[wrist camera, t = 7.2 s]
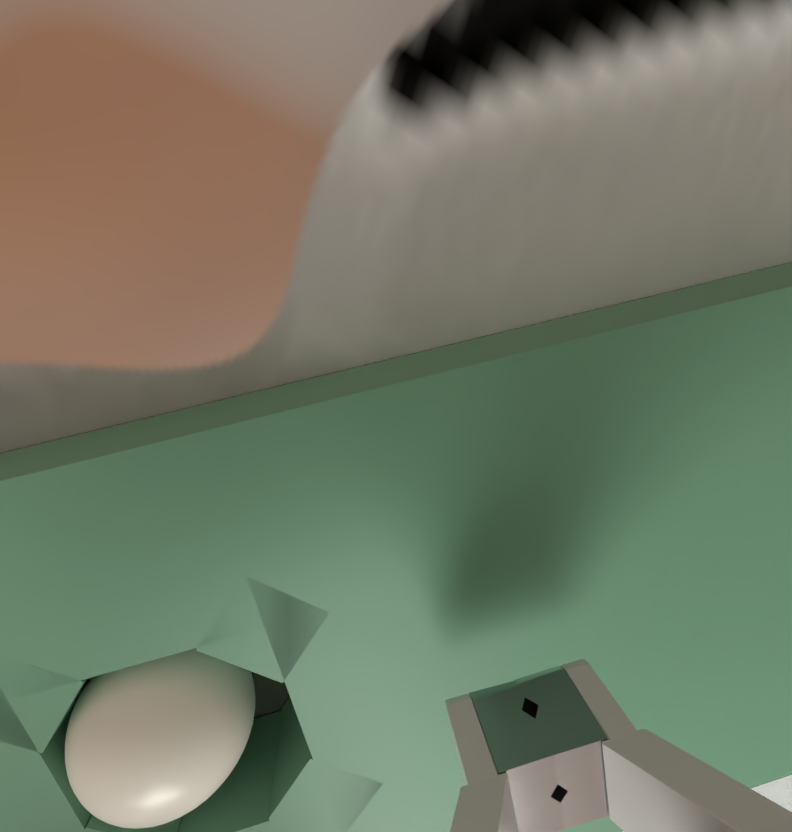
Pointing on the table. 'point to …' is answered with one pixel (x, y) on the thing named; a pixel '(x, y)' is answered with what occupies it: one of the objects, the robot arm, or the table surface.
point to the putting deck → (425, 558)
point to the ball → (158, 737)
